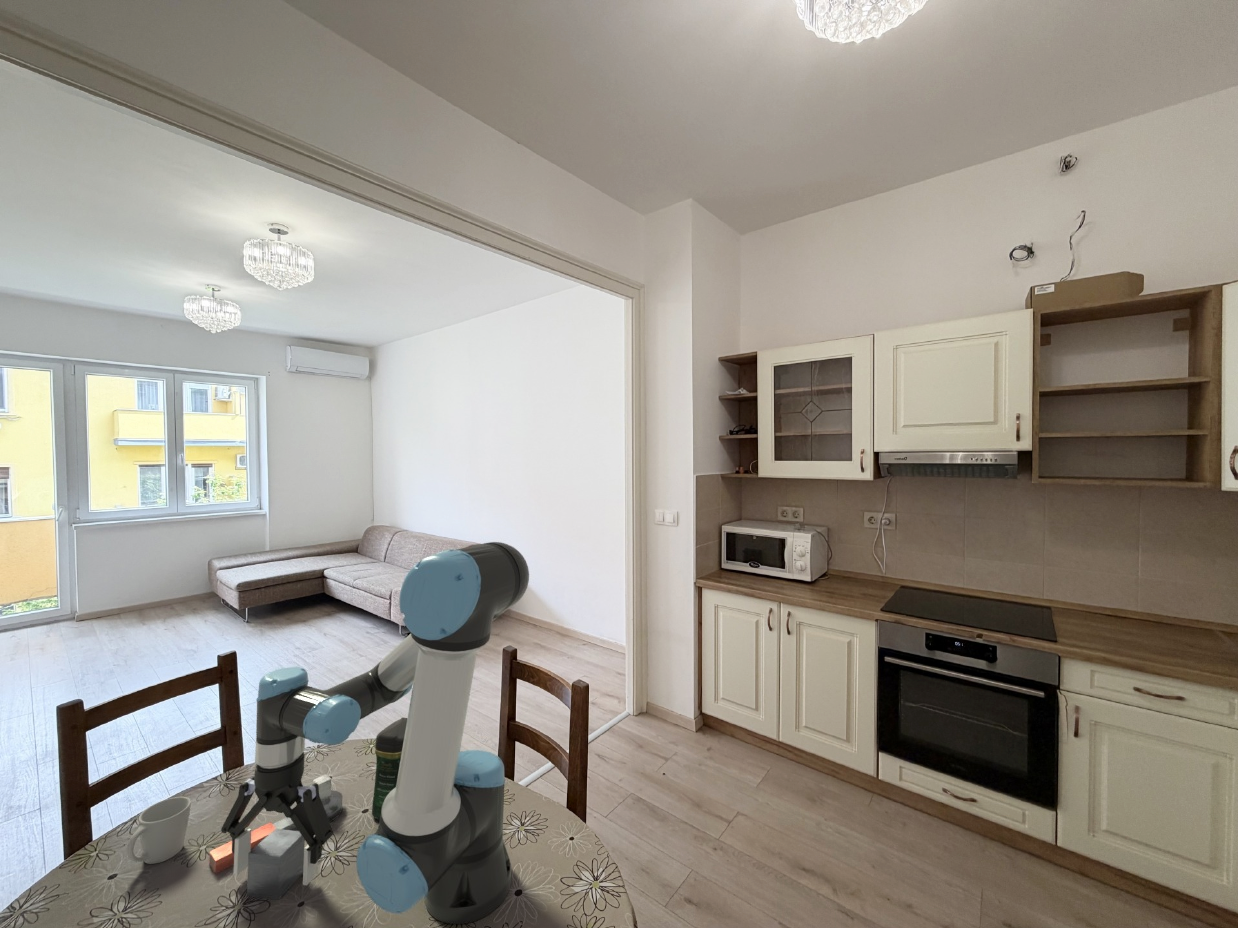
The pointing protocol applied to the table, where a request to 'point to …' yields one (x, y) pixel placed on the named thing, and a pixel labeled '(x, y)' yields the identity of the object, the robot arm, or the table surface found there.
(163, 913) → the table surface
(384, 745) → the coffee jar
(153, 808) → the cup
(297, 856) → the grey rectangular block
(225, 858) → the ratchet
